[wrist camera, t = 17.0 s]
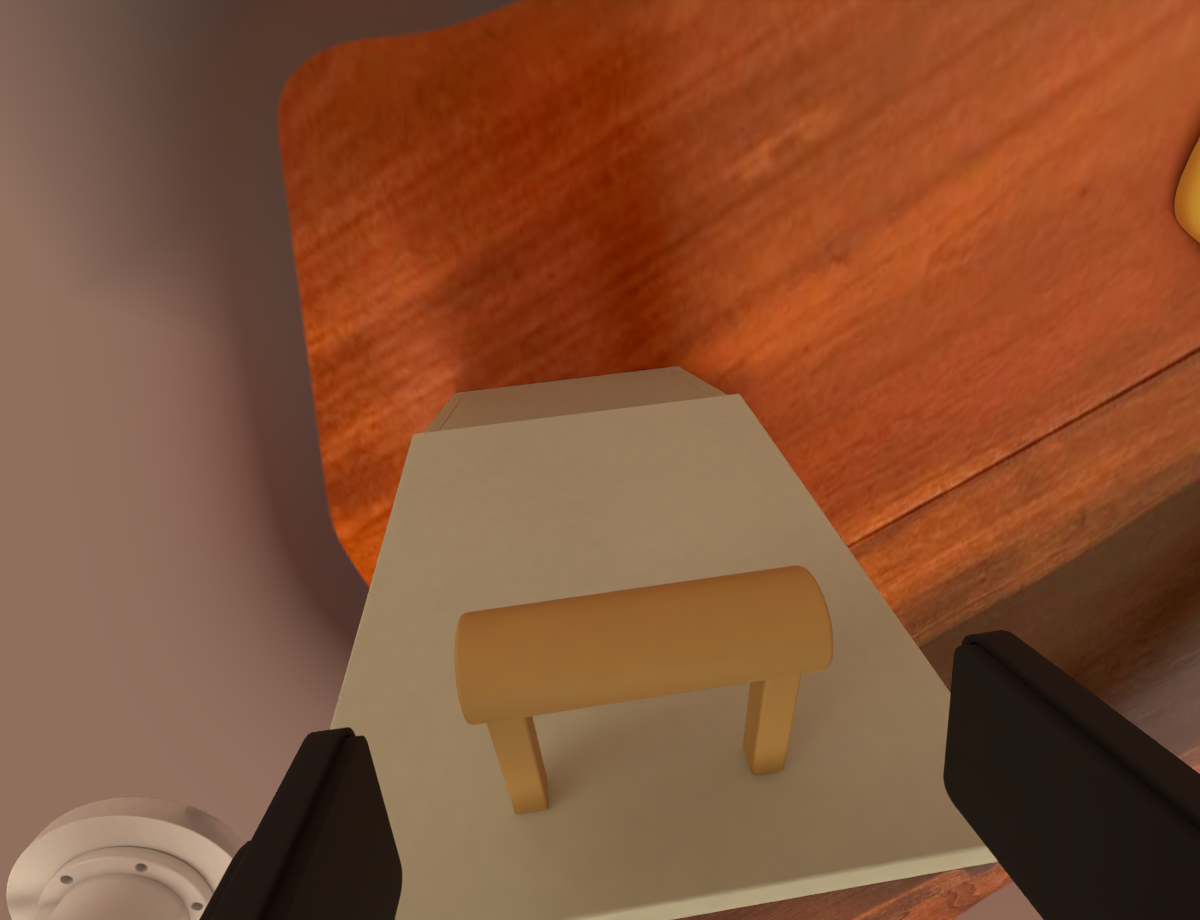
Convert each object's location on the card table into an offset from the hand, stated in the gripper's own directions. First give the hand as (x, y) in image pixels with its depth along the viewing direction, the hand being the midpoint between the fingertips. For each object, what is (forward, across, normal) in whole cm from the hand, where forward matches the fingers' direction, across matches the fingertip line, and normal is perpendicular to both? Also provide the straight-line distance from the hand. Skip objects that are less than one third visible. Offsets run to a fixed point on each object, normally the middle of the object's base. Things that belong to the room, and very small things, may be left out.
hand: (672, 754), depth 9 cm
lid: (+9, 0, +2) cm, 10 cm away
